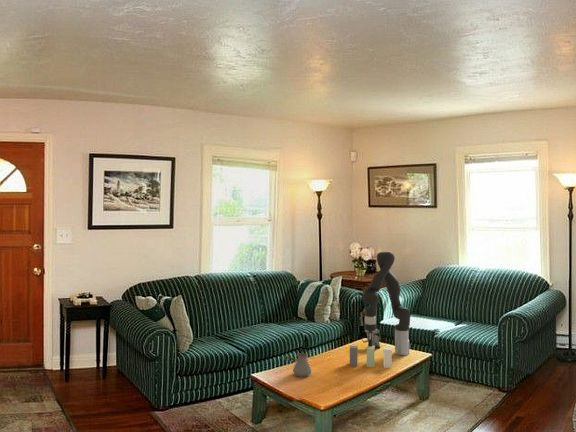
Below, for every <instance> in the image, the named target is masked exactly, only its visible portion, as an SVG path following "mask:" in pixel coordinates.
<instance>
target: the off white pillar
mask: <svg viewBox="0 0 576 432" xmlns="http://www.w3.org/2000/svg"><path fill="white" fill-rule="evenodd" d="M392 351H393V349H392V347H391V346H390V347H389V346H388V347H387V346H383V359H382V360H383V368H386V369H392V364H393V363H392V361H393V360H392V359H393V355H392Z"/></svg>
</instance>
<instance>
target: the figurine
mask: <svg viewBox="0 0 576 432" xmlns="http://www.w3.org/2000/svg"><path fill="white" fill-rule="evenodd" d="M364 332H365V333H367V332H369V331H368V330H365V329H364ZM372 332H373V340H372V347H374V348H377V349H381V346H380V345H381V344H380V341H381V335H376V334H379V333H380V332H381V331H380V329H378V328H376V330H375V331H372ZM361 341H362V343H363V344H365V343H368V339H366V340H363V339H361Z"/></svg>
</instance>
